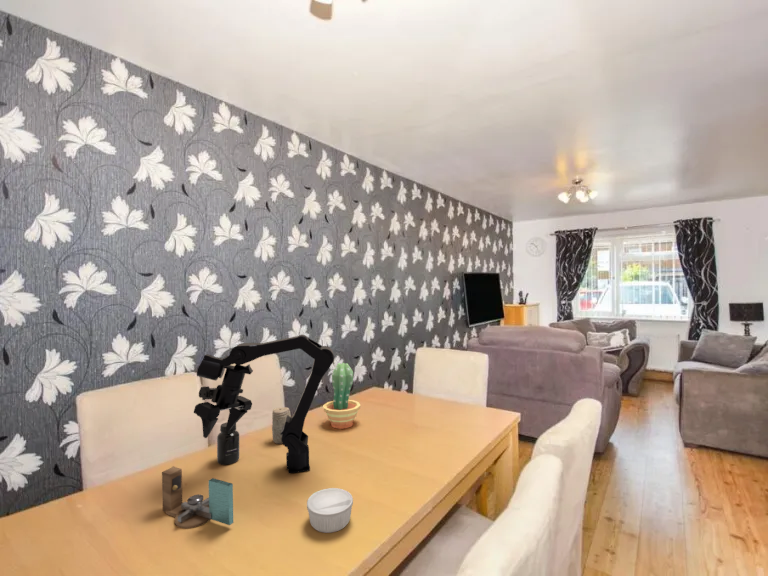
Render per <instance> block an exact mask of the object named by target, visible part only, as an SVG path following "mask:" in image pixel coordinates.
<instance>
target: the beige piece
mask: <svg viewBox="0 0 768 576" xmlns="http://www.w3.org/2000/svg"><path fill="white" fill-rule="evenodd" d="M271 414H272V417H271V418H272V419H271V420H272V422H271V423H272V425H271V430H272V431H271V433H272V435H271V436H272V442H273V443H275V444H280V445H281V444H282V445H283V443H282V441H281V438H282V435H281V430H282V426H283V425H284V424H285V422H286V418H287V415H288V416H290V417H292V415H291V410H290V407H284V406H281V407H276V408H274V409H273V410H272V413H271Z"/></svg>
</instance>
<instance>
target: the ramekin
mask: <svg viewBox="0 0 768 576" xmlns="http://www.w3.org/2000/svg"><path fill="white" fill-rule="evenodd" d="M353 504H354V498H353V496H352V494H351V493H350V492H349V490H345V489H342V488H339V487H338V488H337V487H329V488H324V489H323V488H322V489H321V490H318V491H315V492H314V493H312V494H311V495H310V496H309V497H308V499H307V500H306V509H307V512H308V518H309V523H310V525H311V527H312V528H313V529H314V530H316V531H317V532H319V533H327V534H328V533H336V532H338V531H341V530H343V529H344V528H345V527H347V525H348V523H350V520H351V515H352V509H353V508H352V507H353Z"/></svg>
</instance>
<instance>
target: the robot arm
mask: <svg viewBox="0 0 768 576" xmlns="http://www.w3.org/2000/svg"><path fill="white" fill-rule="evenodd" d="M294 350H301V351H303V352H304V353H306V355H308V356H309V357H311V358H312V359H313V364H312V369H311V372H310V375H309V377H308V380H307V382H306V384H305V387H304V389H303V392H302V394H301V397H300V399H299V400H298V401H299V402H298V404H297V406H296V409H295V411H294V412H293V414H292V415H291V417H290V416H288V415H287V418H286V422H285V424H284V425H283V426H282V430H281V435H282V438H281V441H282V445H283V446H284V447H286V448H287V450H288V451H287V452H286V454H285V455H286V456H285V457H286V462H285V464H286V470H288V474H296V473H301V472H303V473H304V472H308V471H310V470H311V466H310V447H309V435H307V434H306V433H305V431H304V430H303V429H304V425H305V420H306V418H307V415H308V413H309V410H310V408H311V405H312V403H313V400H314V398H315V396H316V394H317V391H318V389H319V386H320V384H321V381H322V379H323V378H324V376H325V375H326V374H327V372H329V371H328V370H329V369H330V368H331V366H332V365H333V362H334V359H335V356H334V351H333V349H332V348H331V347H330V346H327V345H321V344H320V343H318V342H317V341H314V339H311V338H310V337H308V336H307V334H306V335H305V334H299V335H296V336H291V337H286V338H282V339H275V340H271V341H265V342H241V343H238V344H237V345H235V346H234V347H233V348H232V349H231V350H230V352H229V355H225V357H223V358H222V357H221V358H220V357H216V356H213V355H211V354H208V353H206V354H205V355H204V356H203V358H202V361H200V364H199V365H198V367H197V371H196V377H199V378H204V379H207V380H212V381H216V382H217V380H218V379H222V378H223V379H222V382H221V384H218V385H217V386H216V387H210V386H208V385H207V386H200V389H199V390H198V391H199V392H198V397H199V399H200V398H201V400H202V401H205V400H210V401H211V402H212V403H211V402H209V401H205V402H199V403H197V404H196V405H195V406H194V409H193V414H195V415H196V416H197V417H199V418H200V419H201V424H202V437H203V438H204V439H207V438H208V437H209V436H210V434H211V433H212V431H213V429H214V427H215V425H216V423H217V422H218V421H219V415H220V414H221V411H226V410H228V411H229V413H228V417H227V422H226V423H227V426H226V431H230V430H231V428H232V427H233V426H234V425H235V424H236V425H237V423H238V422H239V420H241V418H242V417H243V416H244V415H245V414H247V413H248V411H250V410H252V407H253V406H252V405H253V402H252V400H251V399H248V398H246V397H245V396H242V395H240V394H243V392H244V389H243V388H242V386H243V382H244V380H245V379H244V378H245V375H251V374H252V373H253V371H254V369H252V367H251V364H247V363H250V362H253V361H255V360H257V359H259V358H262V357H266V356H269V355H274V354H279V353H285V352H291V351H294ZM245 364H247V365H245ZM213 403H214V404H213Z"/></svg>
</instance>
